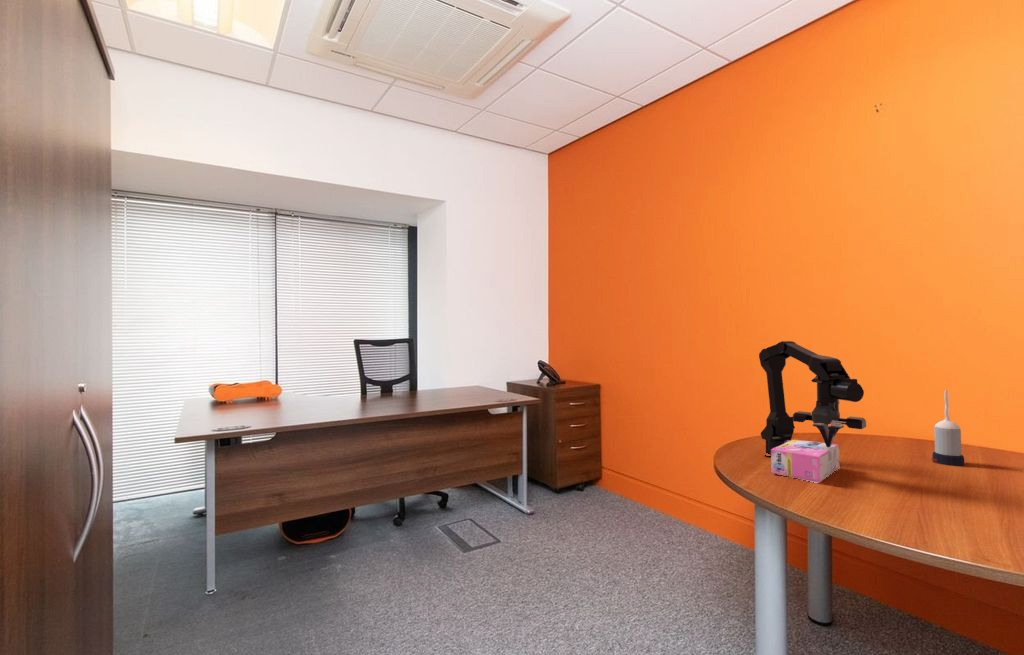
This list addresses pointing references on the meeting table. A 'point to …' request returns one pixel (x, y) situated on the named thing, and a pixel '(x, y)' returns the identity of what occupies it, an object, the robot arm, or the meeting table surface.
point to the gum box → (805, 459)
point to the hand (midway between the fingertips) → (828, 447)
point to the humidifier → (947, 441)
